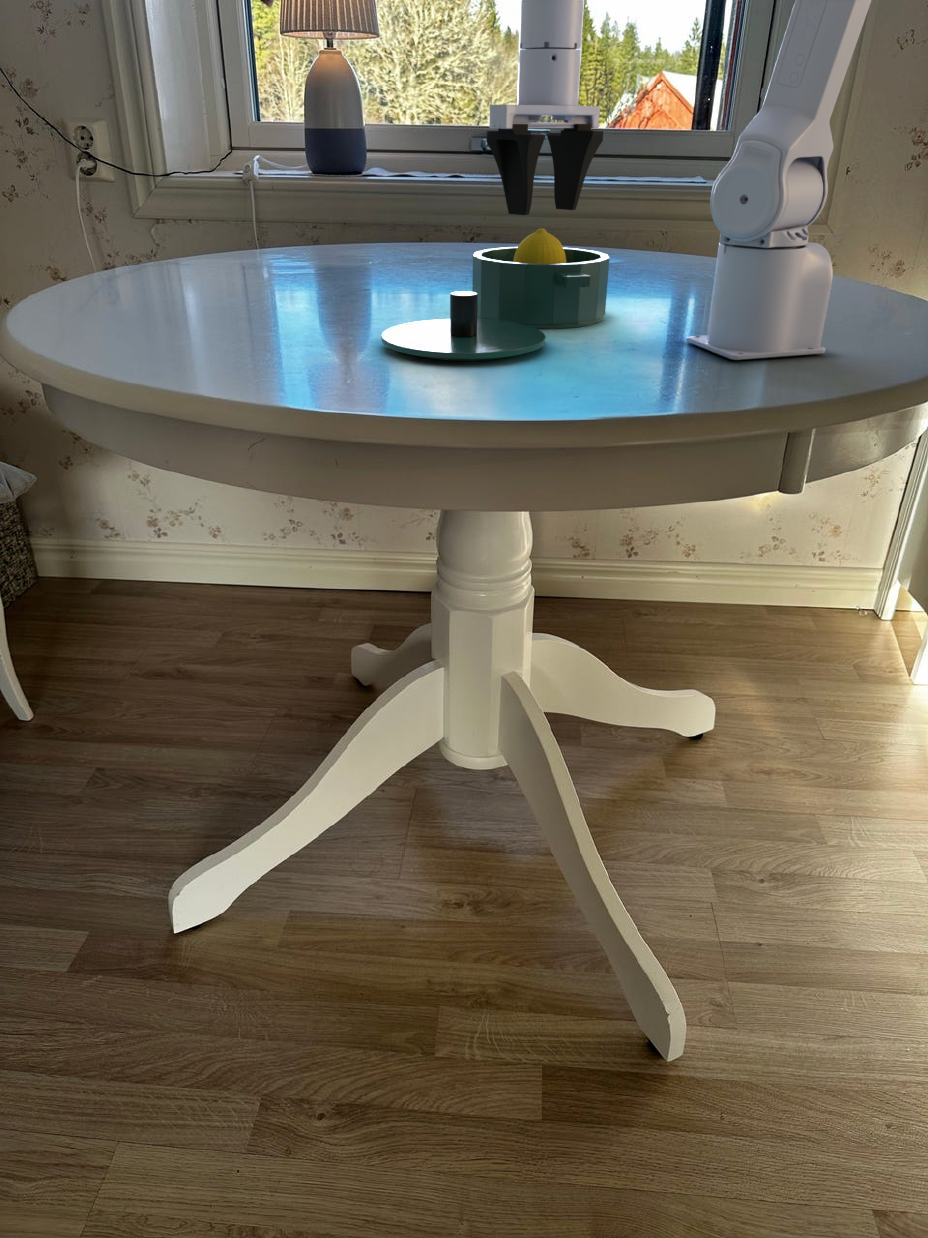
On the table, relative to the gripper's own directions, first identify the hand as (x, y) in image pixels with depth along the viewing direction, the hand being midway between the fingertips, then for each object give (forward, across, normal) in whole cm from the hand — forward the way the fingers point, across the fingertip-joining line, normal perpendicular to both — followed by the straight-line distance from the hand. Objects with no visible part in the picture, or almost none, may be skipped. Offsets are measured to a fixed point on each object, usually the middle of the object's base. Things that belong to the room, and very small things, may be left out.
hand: (542, 211), depth 91 cm
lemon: (+10, 0, 0) cm, 10 cm away
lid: (+9, +16, +4) cm, 19 cm away
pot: (+10, 0, 0) cm, 10 cm away
